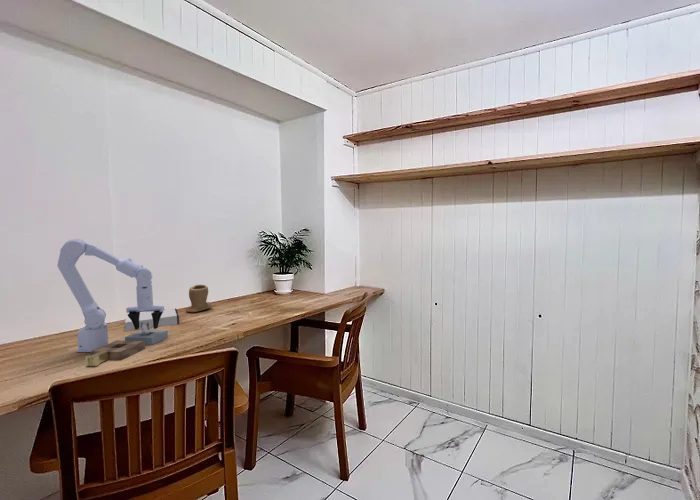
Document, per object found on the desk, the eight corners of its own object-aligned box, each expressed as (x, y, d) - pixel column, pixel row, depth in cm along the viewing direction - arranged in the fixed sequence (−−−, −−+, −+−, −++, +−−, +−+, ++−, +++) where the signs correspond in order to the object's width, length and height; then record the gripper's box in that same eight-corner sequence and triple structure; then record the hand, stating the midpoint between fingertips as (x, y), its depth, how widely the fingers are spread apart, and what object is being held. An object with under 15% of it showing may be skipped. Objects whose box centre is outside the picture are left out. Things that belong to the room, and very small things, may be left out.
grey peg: (140, 342, 143) (139, 323, 142) (144, 340, 146) (143, 321, 145) (148, 342, 143) (147, 323, 142) (151, 339, 146) (150, 321, 145)
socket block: (91, 359, 125) (90, 351, 125) (117, 347, 137) (117, 340, 136) (121, 360, 123) (120, 351, 123) (145, 348, 135) (144, 340, 135)
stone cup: (195, 314, 189) (194, 287, 188) (182, 312, 194) (181, 286, 194) (218, 308, 202) (217, 283, 201) (205, 306, 208) (204, 282, 207)
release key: (86, 365, 118) (85, 356, 118) (100, 359, 124) (100, 350, 124) (96, 366, 118) (95, 357, 117) (110, 359, 123) (110, 350, 123)
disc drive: (179, 324, 170) (178, 315, 170) (125, 332, 159) (124, 321, 159) (176, 317, 185) (176, 308, 185) (127, 323, 174) (126, 314, 174)
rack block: (125, 344, 141) (124, 337, 140) (142, 336, 150) (142, 329, 150) (152, 344, 139) (151, 337, 139) (167, 337, 149) (167, 330, 149)
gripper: (121, 299, 139) (123, 331, 140) (157, 298, 140) (159, 330, 141) (131, 295, 146) (132, 327, 147) (165, 294, 147) (167, 325, 148)
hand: (146, 328), depth 144 cm, fingers open, 7 cm apart
